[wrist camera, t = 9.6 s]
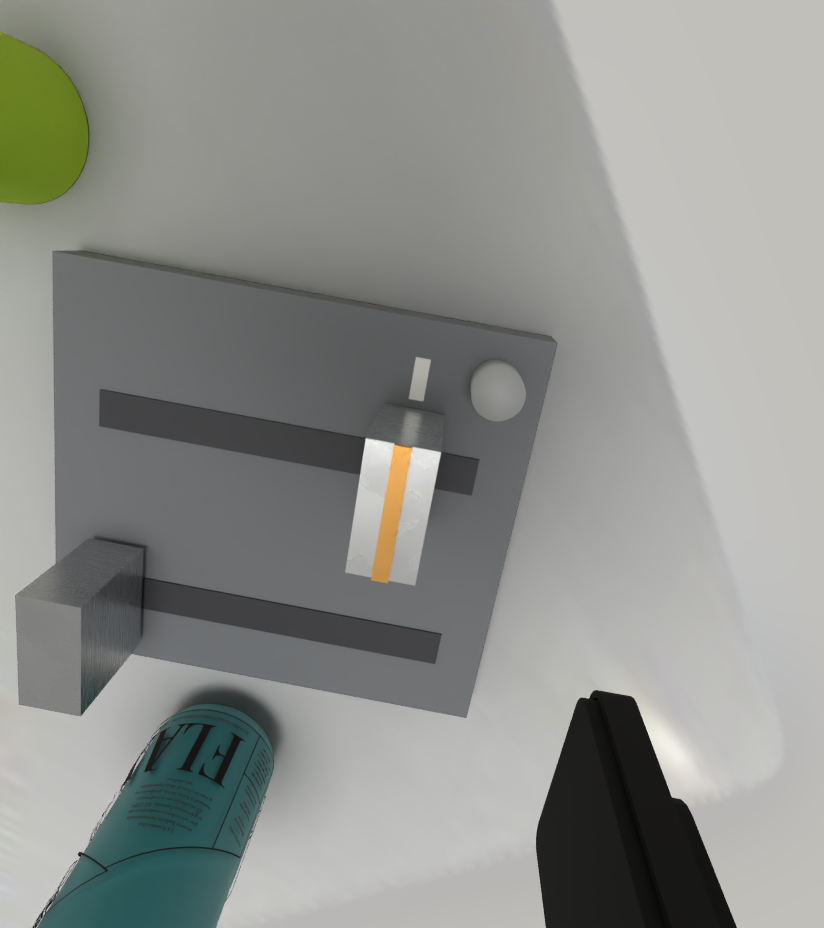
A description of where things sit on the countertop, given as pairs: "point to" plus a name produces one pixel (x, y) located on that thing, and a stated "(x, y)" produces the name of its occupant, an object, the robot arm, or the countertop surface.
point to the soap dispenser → (37, 126)
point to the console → (285, 471)
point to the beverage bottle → (172, 828)
